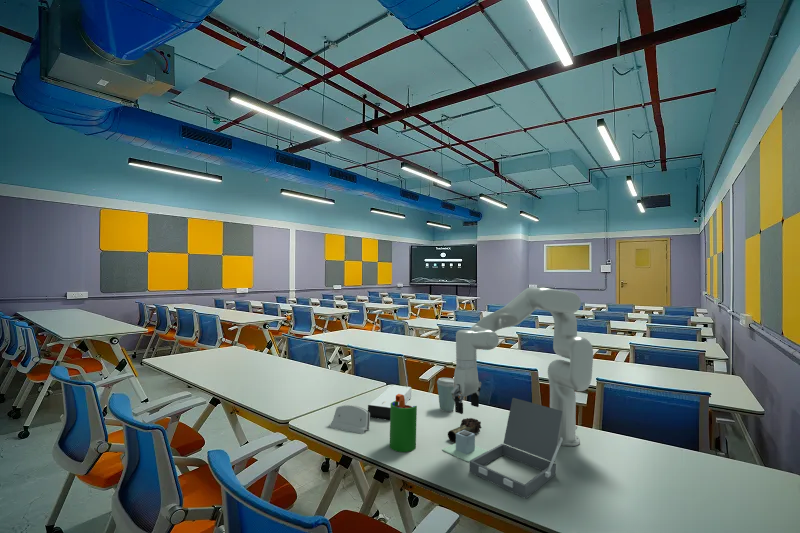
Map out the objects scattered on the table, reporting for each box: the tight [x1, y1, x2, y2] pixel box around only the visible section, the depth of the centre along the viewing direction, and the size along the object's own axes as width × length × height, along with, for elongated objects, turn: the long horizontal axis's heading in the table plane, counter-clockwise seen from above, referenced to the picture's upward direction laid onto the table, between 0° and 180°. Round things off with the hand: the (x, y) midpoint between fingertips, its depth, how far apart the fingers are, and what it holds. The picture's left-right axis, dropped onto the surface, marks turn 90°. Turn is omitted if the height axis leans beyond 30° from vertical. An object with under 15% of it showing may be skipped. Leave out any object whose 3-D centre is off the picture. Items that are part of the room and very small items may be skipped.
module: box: [455, 430, 476, 454], centre depth 138 cm, size 5×5×6 cm
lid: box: [503, 397, 563, 464], centre depth 132 cm, size 17×19×1 cm
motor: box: [389, 394, 418, 453], centre depth 141 cm, size 10×9×20 cm
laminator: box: [367, 384, 412, 421], centre depth 184 cm, size 34×12×6 cm, turn 163°
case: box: [469, 438, 563, 499], centre depth 124 cm, size 24×21×12 cm
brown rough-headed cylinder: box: [447, 417, 482, 444], centre depth 153 cm, size 18×7×6 cm, turn 133°
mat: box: [441, 442, 488, 464], centre depth 138 cm, size 12×12×1 cm
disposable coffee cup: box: [436, 377, 455, 413], centre depth 181 cm, size 11×11×15 cm
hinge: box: [329, 404, 371, 435], centre depth 158 cm, size 17×5×10 cm, turn 67°
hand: (467, 409), depth 139 cm, fingers open, 9 cm apart
